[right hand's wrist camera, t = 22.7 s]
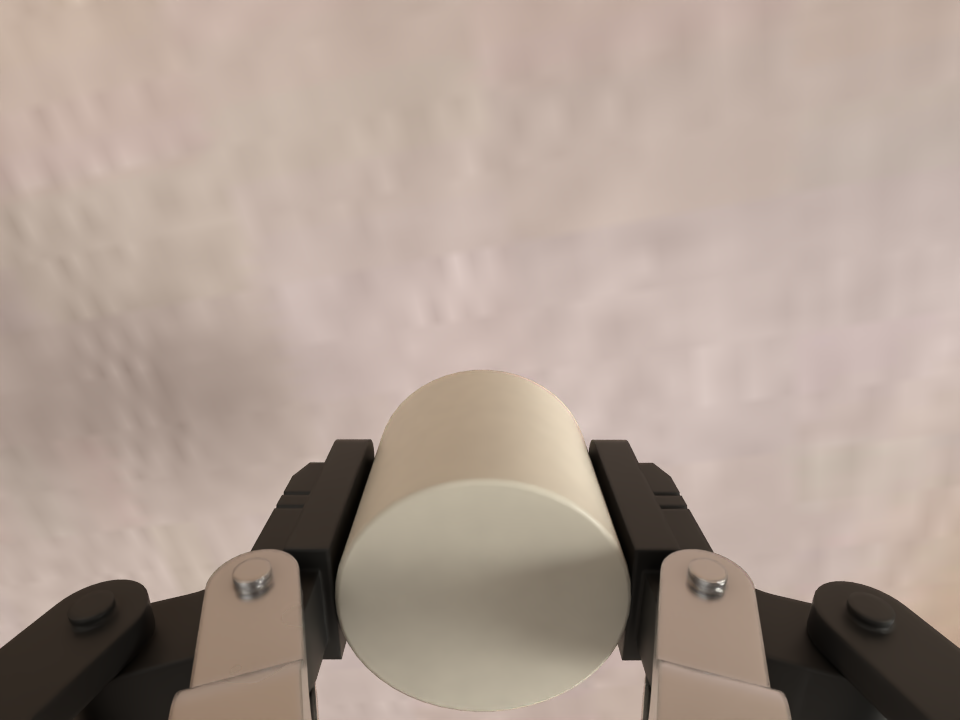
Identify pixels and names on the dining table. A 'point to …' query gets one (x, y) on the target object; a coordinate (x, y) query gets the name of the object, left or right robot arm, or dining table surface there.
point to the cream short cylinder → (482, 550)
